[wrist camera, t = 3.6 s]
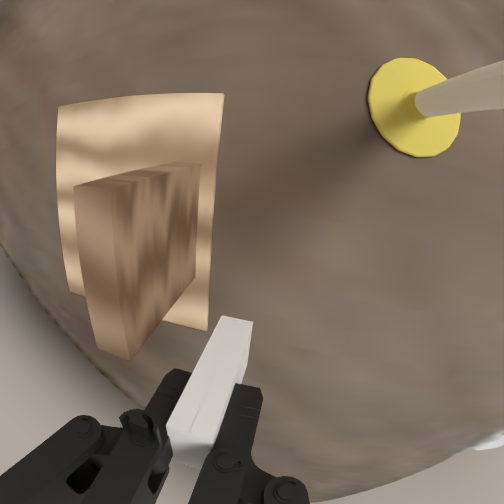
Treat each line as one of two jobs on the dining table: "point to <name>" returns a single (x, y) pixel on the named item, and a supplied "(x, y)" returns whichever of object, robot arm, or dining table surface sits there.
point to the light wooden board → (137, 157)
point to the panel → (136, 250)
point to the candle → (429, 103)
